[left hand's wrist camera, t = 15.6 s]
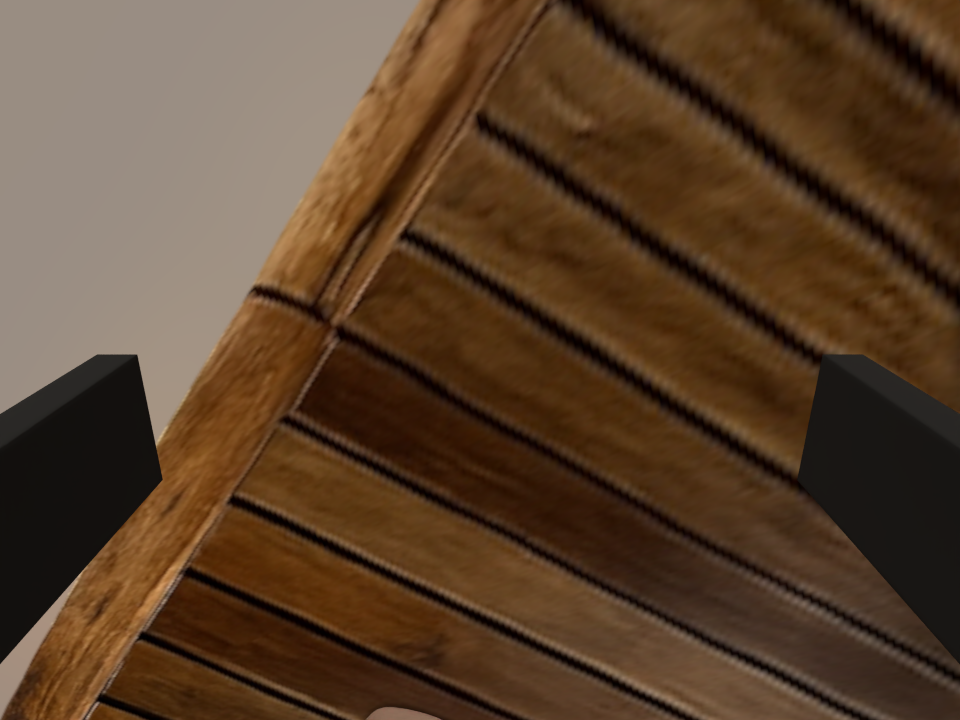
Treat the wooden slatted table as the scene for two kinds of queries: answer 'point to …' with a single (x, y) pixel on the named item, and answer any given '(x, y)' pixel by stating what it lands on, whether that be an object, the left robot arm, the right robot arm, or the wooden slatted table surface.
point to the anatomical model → (399, 714)
